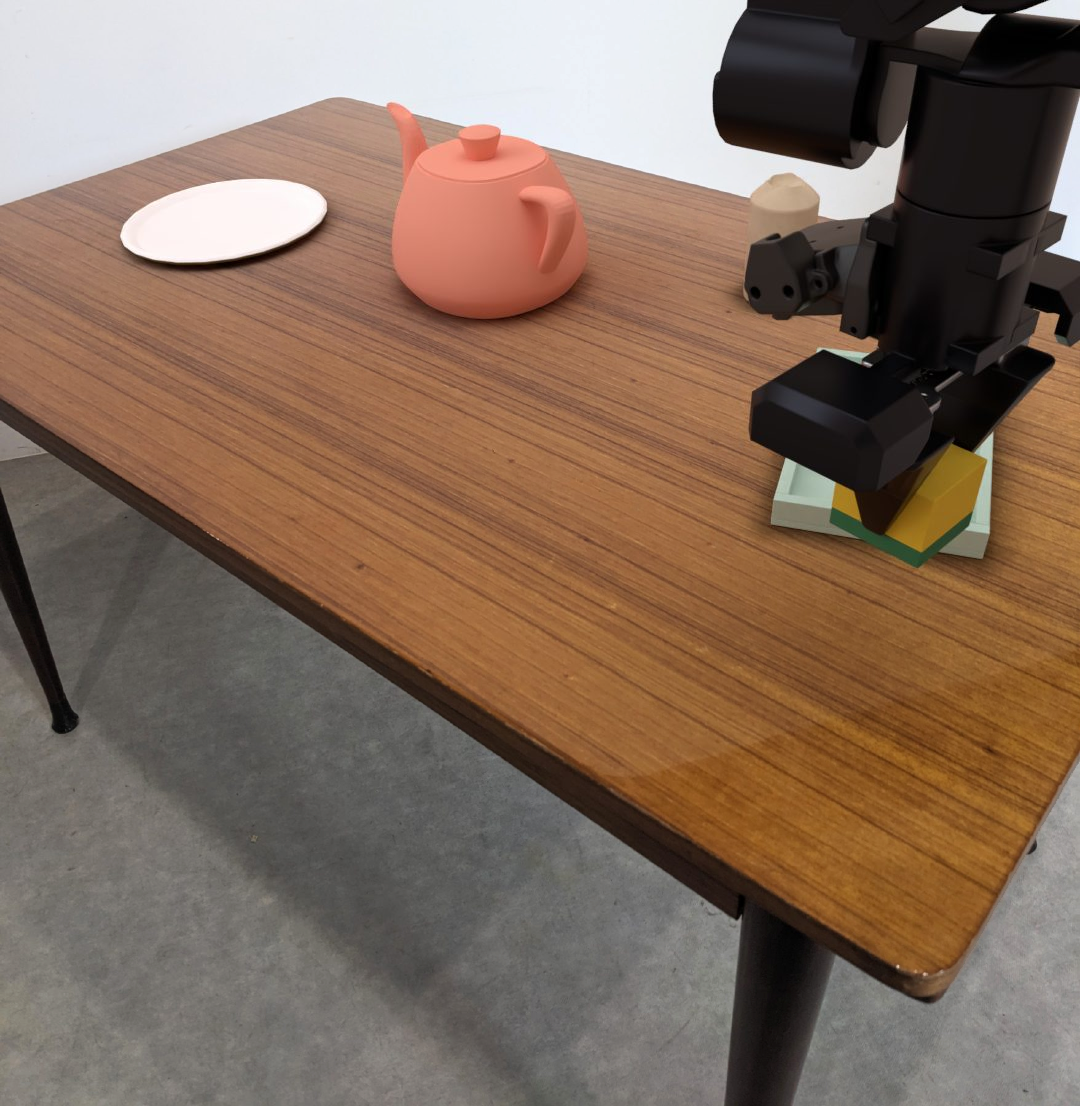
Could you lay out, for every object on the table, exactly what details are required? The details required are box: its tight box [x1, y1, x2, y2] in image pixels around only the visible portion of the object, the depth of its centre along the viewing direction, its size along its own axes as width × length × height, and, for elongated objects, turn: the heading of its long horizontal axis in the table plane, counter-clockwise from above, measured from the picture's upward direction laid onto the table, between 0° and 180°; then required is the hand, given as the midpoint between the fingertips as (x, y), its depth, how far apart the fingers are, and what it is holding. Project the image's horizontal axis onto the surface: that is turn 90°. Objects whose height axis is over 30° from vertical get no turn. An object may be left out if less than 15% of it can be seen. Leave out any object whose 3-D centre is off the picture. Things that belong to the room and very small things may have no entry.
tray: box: [770, 346, 995, 560], centre depth 71 cm, size 20×13×2 cm, turn 161°
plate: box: [119, 178, 328, 266], centre depth 107 cm, size 21×21×1 cm
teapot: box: [386, 101, 590, 320], centre depth 91 cm, size 25×17×13 cm
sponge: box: [829, 444, 987, 569], centre depth 50 cm, size 5×4×4 cm
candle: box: [742, 172, 821, 302], centre depth 87 cm, size 6×6×10 cm
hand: (903, 507), depth 51 cm, fingers closed on sponge, 4 cm apart
